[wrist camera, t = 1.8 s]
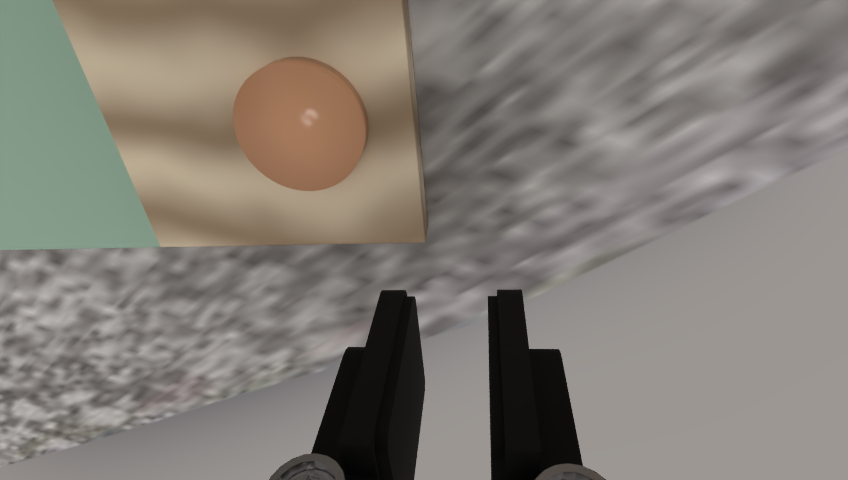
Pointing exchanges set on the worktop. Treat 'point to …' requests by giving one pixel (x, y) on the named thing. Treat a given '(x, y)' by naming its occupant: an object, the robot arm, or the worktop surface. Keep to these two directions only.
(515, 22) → the worktop surface
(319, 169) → the brown round disc
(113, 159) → the mat
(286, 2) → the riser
